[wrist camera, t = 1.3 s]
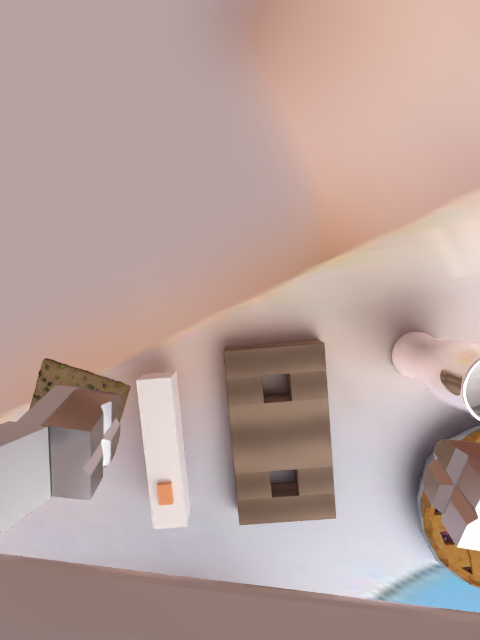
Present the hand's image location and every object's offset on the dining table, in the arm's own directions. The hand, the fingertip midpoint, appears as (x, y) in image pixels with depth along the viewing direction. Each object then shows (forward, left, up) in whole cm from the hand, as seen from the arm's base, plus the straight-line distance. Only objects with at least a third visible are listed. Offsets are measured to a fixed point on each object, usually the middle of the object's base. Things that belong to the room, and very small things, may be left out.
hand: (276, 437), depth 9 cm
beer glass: (-6, -20, -35) cm, 41 cm away
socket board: (-14, -2, -35) cm, 38 cm away
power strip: (-14, +12, -35) cm, 40 cm away
